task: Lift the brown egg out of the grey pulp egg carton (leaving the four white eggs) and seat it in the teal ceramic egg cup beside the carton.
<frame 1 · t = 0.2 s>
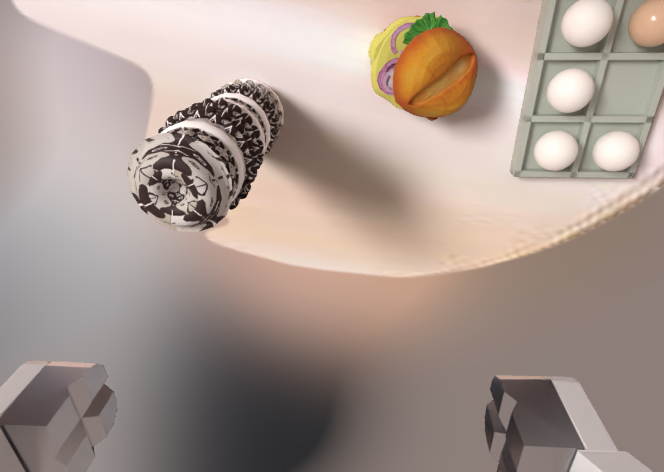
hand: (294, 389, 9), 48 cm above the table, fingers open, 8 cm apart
brown egg: (642, 20, 46), point 1 cm above the table, touching egg carton
egg carton: (589, 85, 50), on the table
black white tall cylinder: (250, 113, 54), on the table
cheeseburger: (417, 61, 50), on the table
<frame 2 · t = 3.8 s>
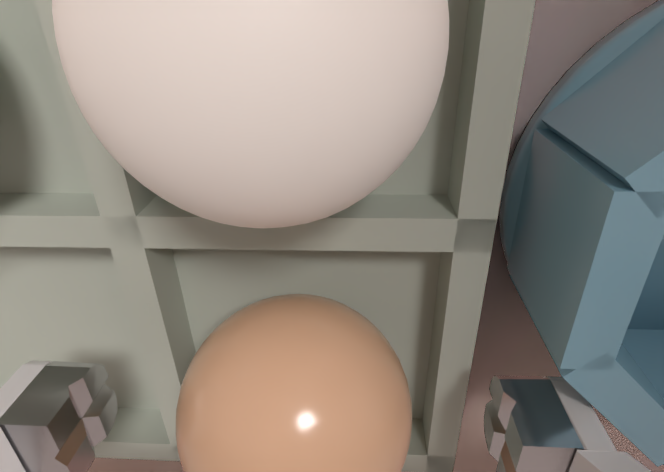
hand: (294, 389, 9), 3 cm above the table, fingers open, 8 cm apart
brown egg: (308, 332, 11), point 1 cm above the table, touching egg carton
egg carton: (21, 194, 10), on the table
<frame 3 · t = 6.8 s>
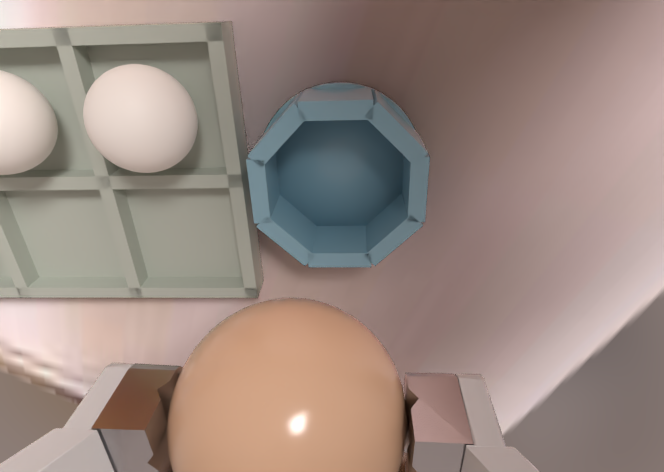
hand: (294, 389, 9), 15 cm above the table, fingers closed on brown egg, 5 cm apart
brown egg: (303, 335, 11), point 14 cm above the table, touching gripper
egg carton: (60, 171, 24), on the table
egg cup: (340, 165, 23), on the table
when the fingers open (6 cm above the table, at t = 9.3 s): brown egg drops 4 cm, resting on egg cup.
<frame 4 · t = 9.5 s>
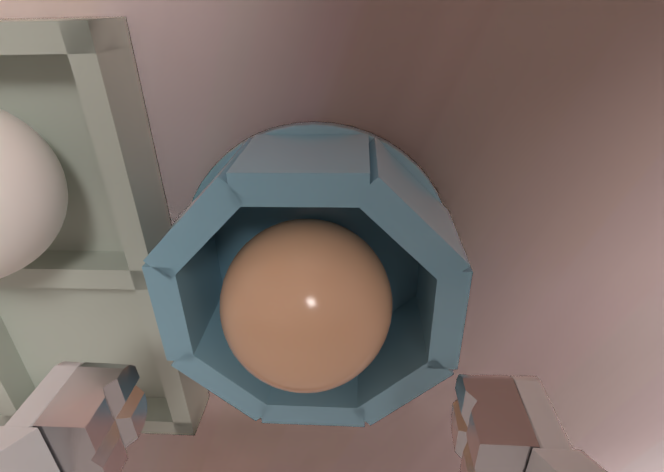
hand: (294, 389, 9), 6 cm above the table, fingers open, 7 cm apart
brown egg: (318, 258, 14), point 1 cm above the table, touching egg cup
egg cup: (318, 249, 14), on the table
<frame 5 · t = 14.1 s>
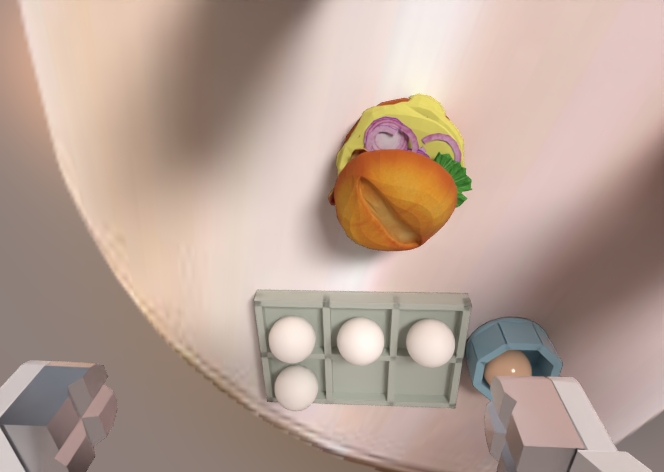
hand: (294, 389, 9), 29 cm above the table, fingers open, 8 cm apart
brown egg: (508, 353, 45), point 1 cm above the table, tilted 21°, touching egg cup
egg carton: (360, 345, 47), on the table
egg cup: (506, 348, 46), on the table
cheeseburger: (397, 159, 37), on the table
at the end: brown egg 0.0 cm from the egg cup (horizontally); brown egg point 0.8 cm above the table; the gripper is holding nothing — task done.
